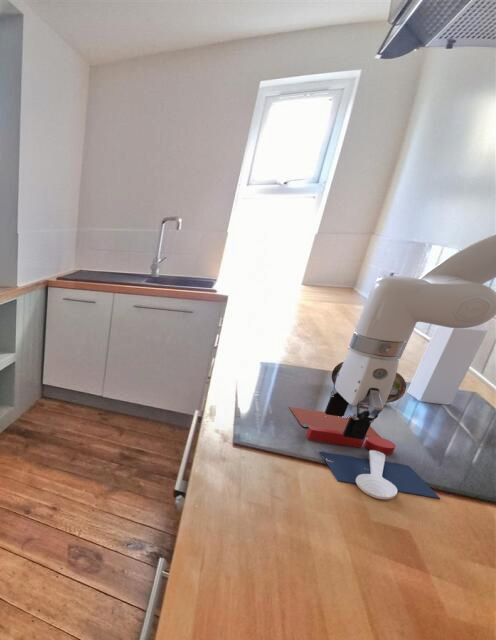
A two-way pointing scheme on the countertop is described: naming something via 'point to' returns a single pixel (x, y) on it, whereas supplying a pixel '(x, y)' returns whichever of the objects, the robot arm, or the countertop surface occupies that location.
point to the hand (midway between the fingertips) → (342, 425)
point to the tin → (396, 389)
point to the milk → (446, 363)
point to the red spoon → (350, 440)
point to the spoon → (376, 478)
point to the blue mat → (406, 482)
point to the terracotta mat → (325, 420)
